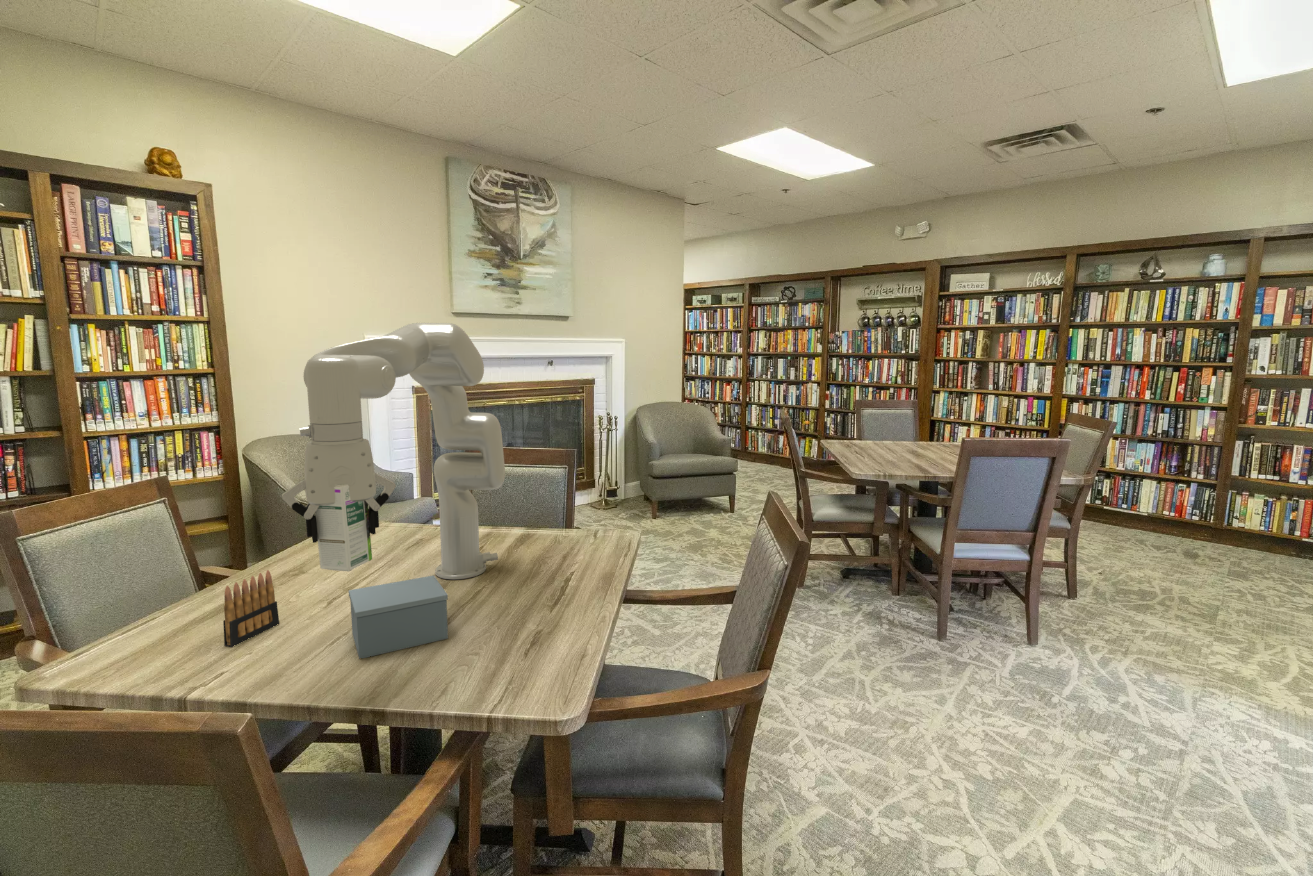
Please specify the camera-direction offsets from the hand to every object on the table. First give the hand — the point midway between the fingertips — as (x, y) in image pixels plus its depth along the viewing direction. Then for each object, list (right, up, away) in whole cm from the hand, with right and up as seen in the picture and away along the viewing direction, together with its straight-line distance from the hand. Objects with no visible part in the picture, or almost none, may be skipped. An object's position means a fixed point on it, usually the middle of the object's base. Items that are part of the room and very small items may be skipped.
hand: (344, 535), depth 100 cm
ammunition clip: (-29, -24, +20) cm, 42 cm away
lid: (+1, -15, +19) cm, 24 cm away
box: (+1, -24, +20) cm, 31 cm away
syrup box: (0, -5, +1) cm, 5 cm away
